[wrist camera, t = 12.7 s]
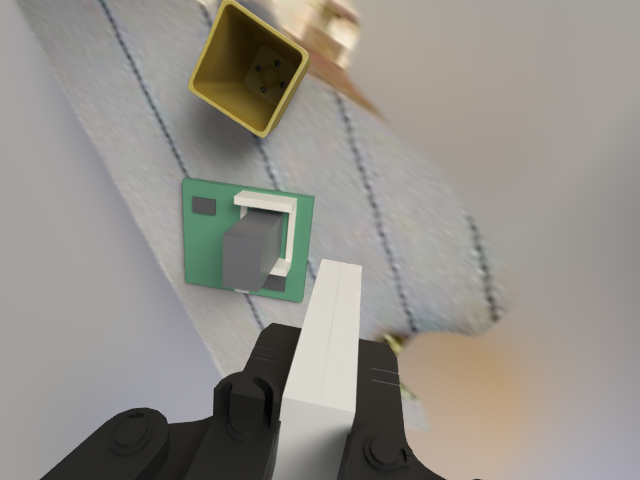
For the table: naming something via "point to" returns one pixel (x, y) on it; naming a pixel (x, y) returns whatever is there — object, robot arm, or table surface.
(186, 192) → the board
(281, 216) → the plug
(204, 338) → the table surface
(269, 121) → the flower pot
